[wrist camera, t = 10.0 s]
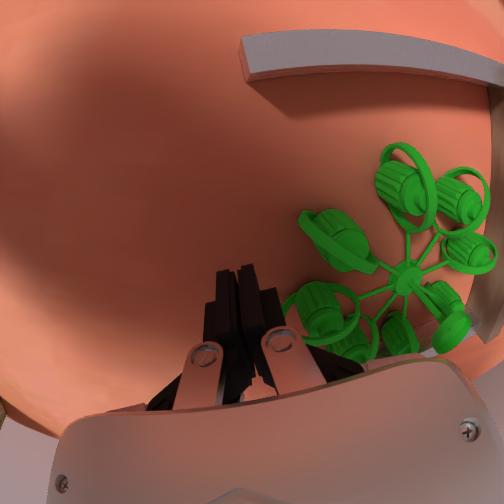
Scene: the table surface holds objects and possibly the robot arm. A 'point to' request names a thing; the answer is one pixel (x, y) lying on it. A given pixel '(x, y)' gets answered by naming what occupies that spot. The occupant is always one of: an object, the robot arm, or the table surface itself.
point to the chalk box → (2, 414)
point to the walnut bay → (412, 62)
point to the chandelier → (405, 273)
